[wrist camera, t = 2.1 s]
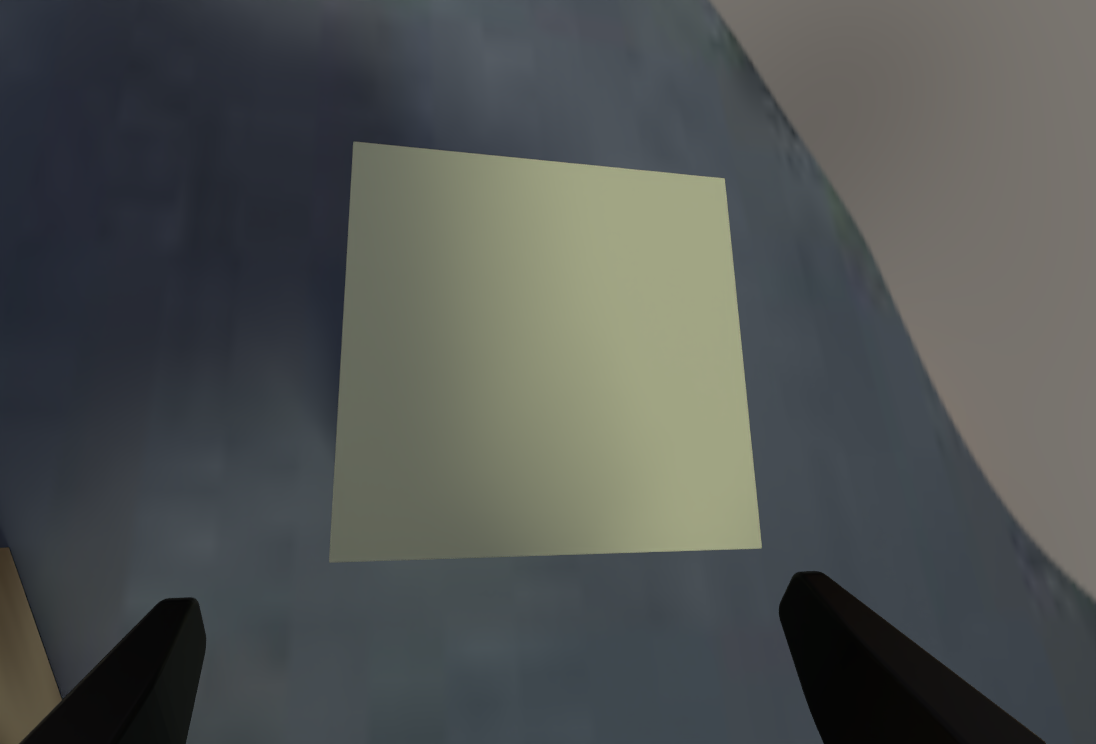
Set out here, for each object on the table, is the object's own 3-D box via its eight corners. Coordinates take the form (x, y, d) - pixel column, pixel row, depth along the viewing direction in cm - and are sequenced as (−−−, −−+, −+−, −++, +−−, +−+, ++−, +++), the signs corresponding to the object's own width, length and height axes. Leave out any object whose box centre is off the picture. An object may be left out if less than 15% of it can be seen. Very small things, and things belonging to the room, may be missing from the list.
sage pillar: (544, 538, 20) (761, 547, 8) (380, 543, 19) (329, 561, 7) (540, 384, 21) (724, 178, 9) (386, 380, 20) (353, 141, 8)
